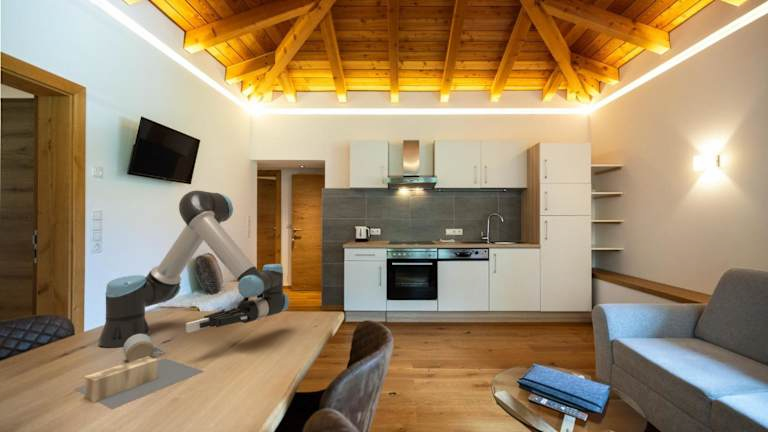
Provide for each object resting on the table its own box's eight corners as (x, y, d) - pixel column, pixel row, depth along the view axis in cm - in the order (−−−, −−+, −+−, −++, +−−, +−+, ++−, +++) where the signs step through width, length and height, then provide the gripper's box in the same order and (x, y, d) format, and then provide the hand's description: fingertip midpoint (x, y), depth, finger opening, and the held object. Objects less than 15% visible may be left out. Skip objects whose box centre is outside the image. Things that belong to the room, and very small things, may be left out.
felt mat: (74, 392, 84) (74, 388, 84) (165, 361, 104) (165, 358, 104) (112, 413, 75) (112, 409, 75) (204, 374, 94) (204, 371, 94)
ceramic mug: (125, 368, 99) (126, 342, 99) (122, 360, 105) (123, 336, 105) (167, 359, 106) (167, 335, 107) (162, 352, 112) (162, 329, 112)
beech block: (147, 374, 93) (84, 397, 80) (148, 356, 93) (84, 376, 80) (157, 377, 90) (93, 402, 78) (157, 359, 90) (94, 380, 78)
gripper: (264, 322, 117) (200, 344, 97) (240, 318, 124) (175, 337, 103) (264, 301, 118) (200, 318, 97) (240, 298, 124) (175, 312, 103)
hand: (187, 327), depth 100 cm, fingers closed
